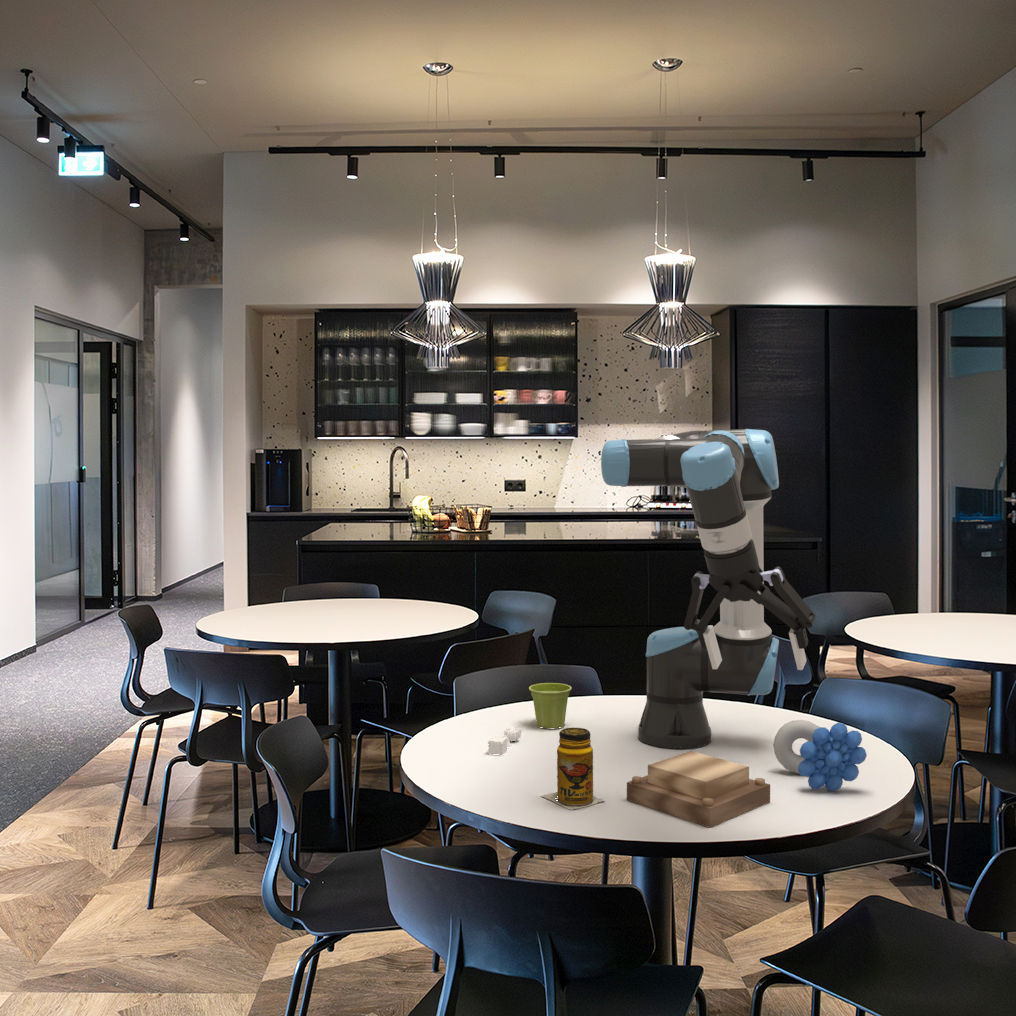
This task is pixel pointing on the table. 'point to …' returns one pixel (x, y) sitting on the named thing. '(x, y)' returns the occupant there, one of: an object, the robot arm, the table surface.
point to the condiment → (574, 770)
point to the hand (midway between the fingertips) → (758, 665)
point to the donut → (786, 739)
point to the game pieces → (503, 741)
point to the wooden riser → (699, 788)
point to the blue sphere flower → (831, 757)
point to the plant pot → (550, 703)
